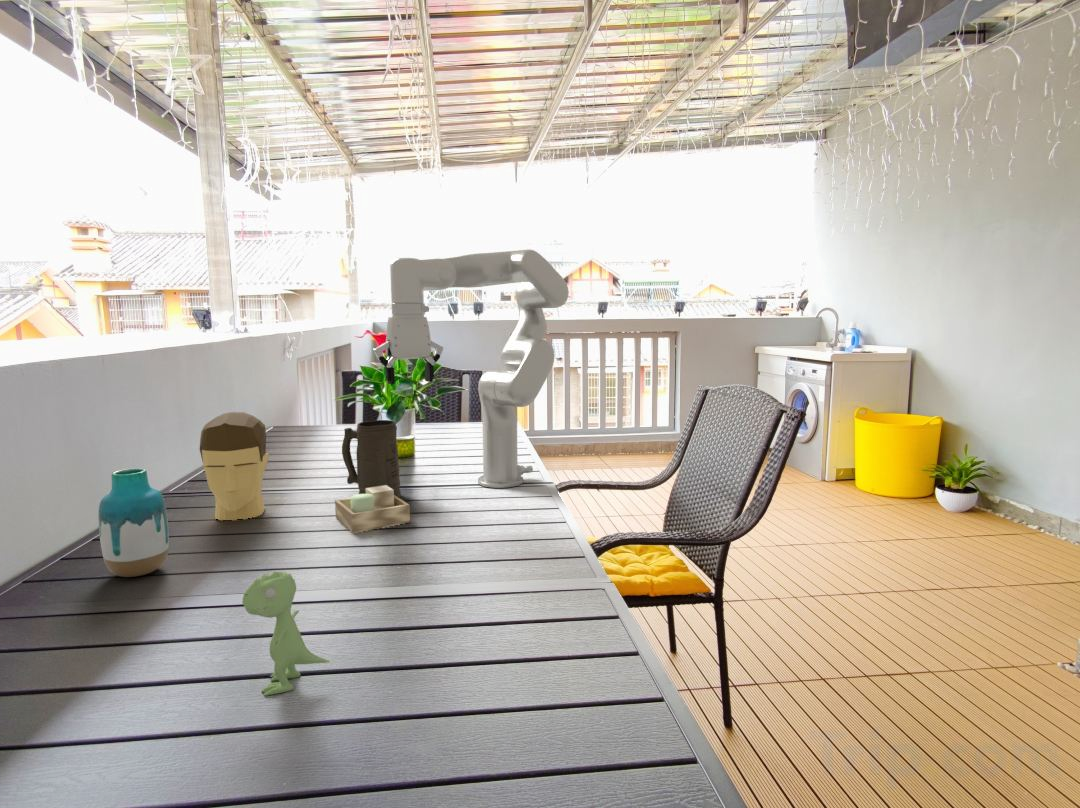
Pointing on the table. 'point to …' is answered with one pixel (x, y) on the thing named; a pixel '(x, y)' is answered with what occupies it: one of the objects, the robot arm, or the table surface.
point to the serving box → (372, 516)
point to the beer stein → (373, 455)
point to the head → (235, 464)
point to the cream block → (382, 496)
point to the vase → (133, 525)
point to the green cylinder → (362, 503)
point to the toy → (280, 627)
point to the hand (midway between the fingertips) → (410, 382)
